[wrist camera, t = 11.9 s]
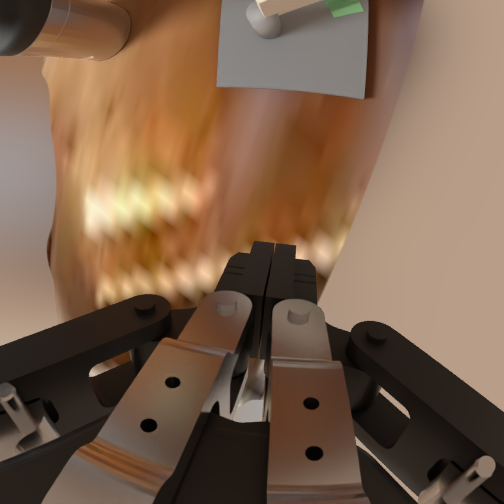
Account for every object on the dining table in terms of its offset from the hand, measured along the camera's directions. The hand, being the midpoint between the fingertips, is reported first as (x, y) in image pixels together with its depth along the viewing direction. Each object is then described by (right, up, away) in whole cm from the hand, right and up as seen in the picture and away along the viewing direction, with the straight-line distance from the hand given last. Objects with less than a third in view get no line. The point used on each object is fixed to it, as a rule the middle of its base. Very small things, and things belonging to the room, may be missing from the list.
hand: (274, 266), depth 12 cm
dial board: (+4, +29, +20) cm, 35 cm away
